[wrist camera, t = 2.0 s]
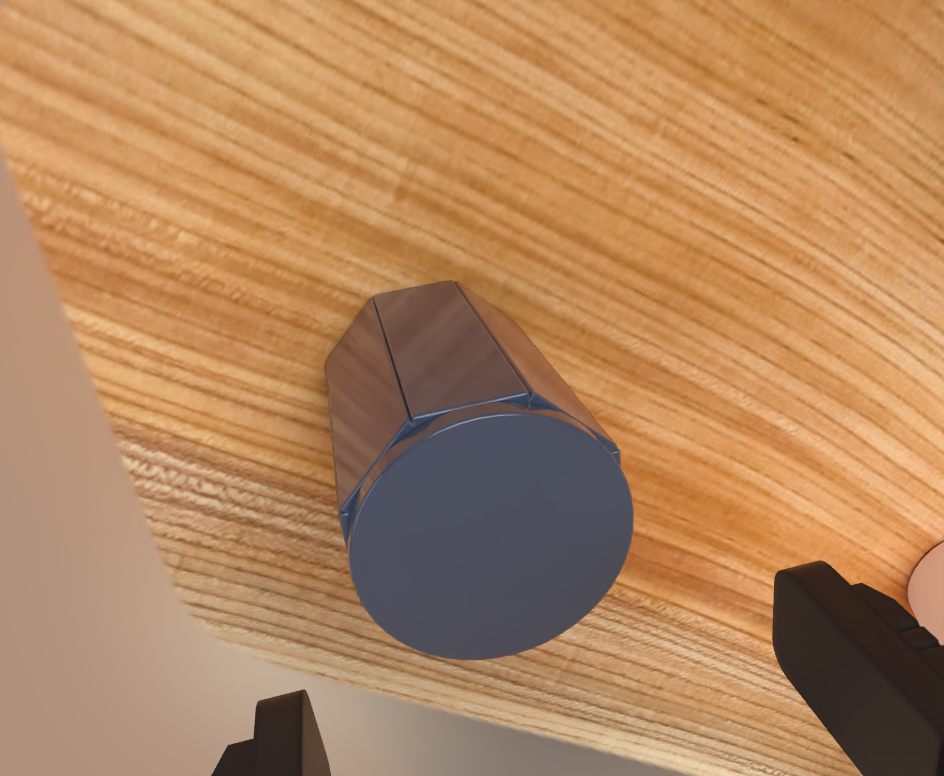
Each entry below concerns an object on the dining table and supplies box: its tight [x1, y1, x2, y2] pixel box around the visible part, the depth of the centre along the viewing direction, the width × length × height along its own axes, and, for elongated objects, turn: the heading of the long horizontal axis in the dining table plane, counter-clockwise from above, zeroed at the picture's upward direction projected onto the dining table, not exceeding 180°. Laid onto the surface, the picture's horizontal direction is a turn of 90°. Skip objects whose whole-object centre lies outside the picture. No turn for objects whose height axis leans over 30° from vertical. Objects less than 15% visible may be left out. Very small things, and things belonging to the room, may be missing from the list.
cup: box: [325, 280, 634, 660], centre depth 20 cm, size 6×6×9 cm
